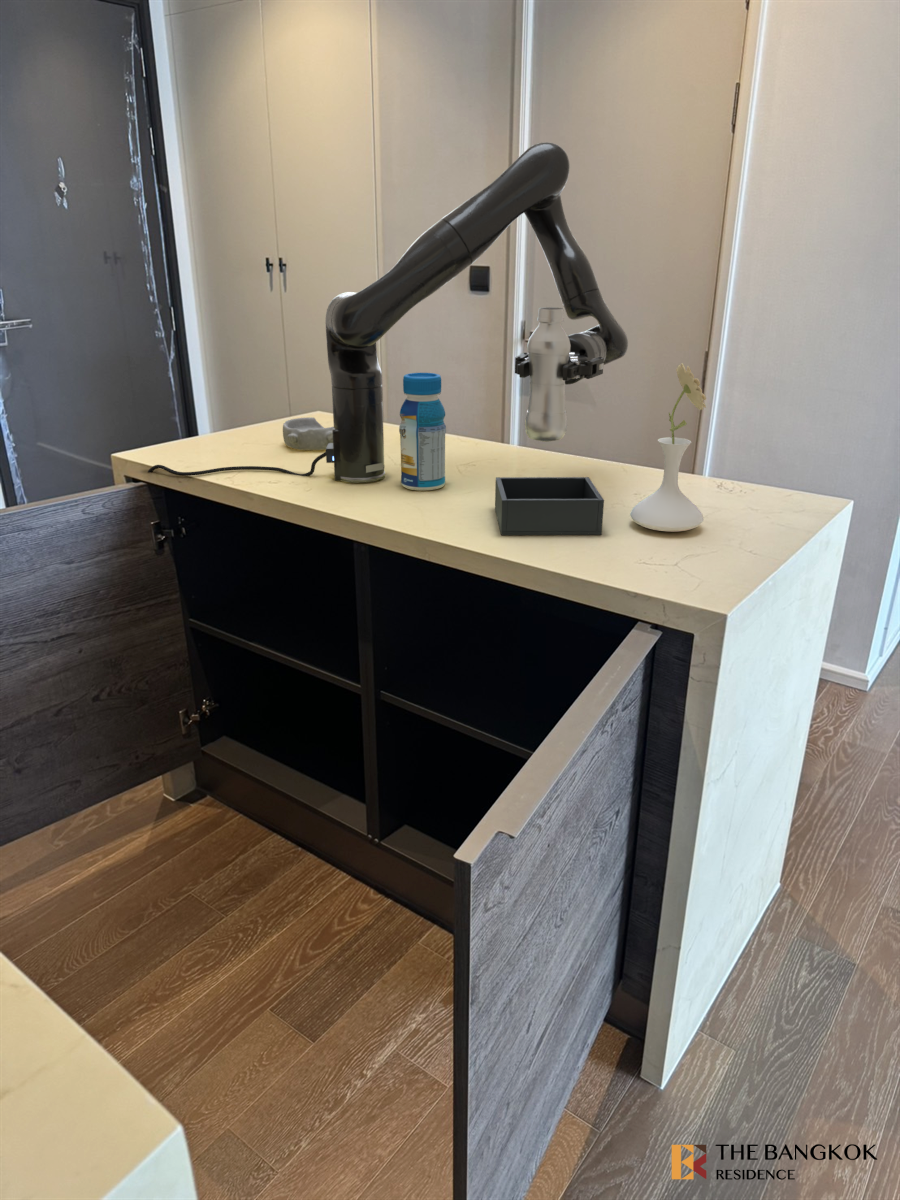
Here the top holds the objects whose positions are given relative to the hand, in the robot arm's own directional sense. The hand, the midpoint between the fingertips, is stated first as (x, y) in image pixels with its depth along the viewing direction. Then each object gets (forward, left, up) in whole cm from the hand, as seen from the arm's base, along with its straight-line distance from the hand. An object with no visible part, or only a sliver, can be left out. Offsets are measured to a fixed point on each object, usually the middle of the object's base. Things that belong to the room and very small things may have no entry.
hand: (543, 372), depth 130 cm
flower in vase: (+20, -2, -24) cm, 31 cm away
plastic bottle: (+1, +2, -11) cm, 11 cm away
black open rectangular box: (+1, 0, -24) cm, 24 cm away
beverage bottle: (-19, +22, -24) cm, 37 cm away
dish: (-43, +55, -24) cm, 73 cm away
